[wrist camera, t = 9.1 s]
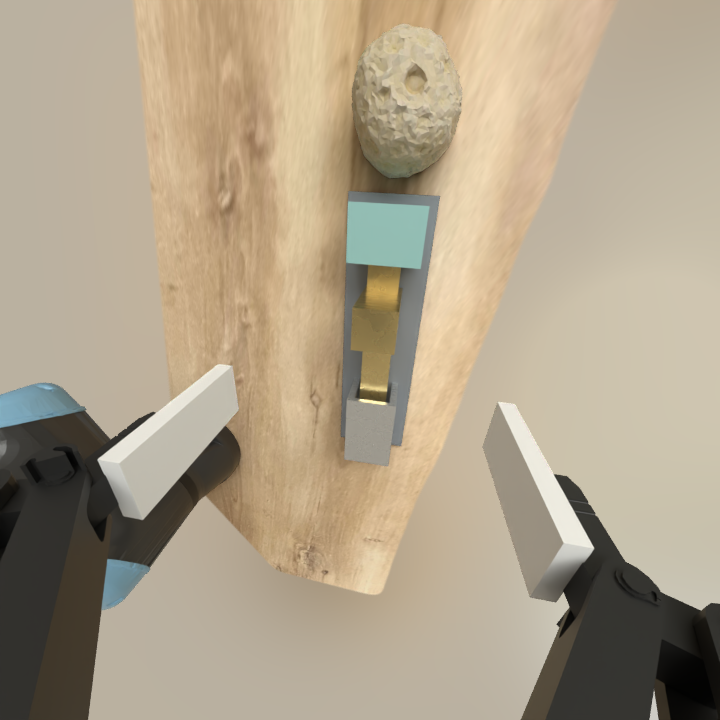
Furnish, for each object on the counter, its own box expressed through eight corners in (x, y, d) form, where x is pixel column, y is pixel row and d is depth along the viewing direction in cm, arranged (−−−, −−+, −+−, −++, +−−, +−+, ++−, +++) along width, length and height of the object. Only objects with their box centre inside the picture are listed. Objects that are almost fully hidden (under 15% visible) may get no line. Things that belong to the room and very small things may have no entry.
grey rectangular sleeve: (351, 433, 43) (344, 459, 39) (354, 377, 39) (346, 399, 35) (390, 439, 43) (388, 466, 38) (398, 383, 38) (396, 406, 34)
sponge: (429, 71, 28) (375, -49, 20) (500, 117, 25) (470, -4, 16) (367, 161, 32) (300, 93, 24) (421, 212, 29) (365, 153, 20)
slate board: (341, 433, 45) (340, 436, 44) (350, 191, 30) (348, 191, 29) (401, 442, 44) (401, 446, 43) (439, 196, 29) (439, 196, 28)
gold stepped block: (360, 389, 39) (346, 434, 32) (370, 226, 30) (355, 231, 22) (390, 393, 39) (384, 440, 31) (409, 228, 30) (408, 234, 22)
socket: (356, 254, 32) (346, 262, 27) (358, 203, 30) (348, 201, 25) (419, 260, 31) (420, 268, 26) (426, 207, 29) (429, 206, 24)
